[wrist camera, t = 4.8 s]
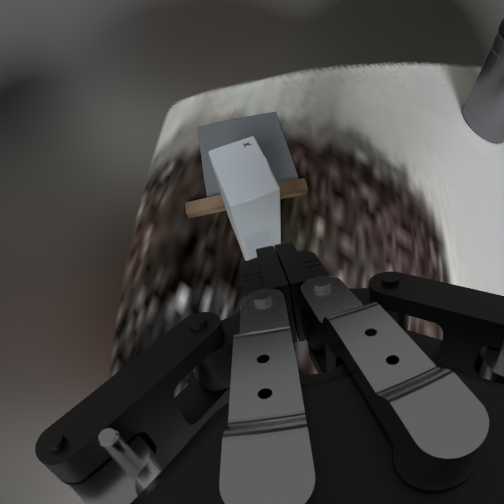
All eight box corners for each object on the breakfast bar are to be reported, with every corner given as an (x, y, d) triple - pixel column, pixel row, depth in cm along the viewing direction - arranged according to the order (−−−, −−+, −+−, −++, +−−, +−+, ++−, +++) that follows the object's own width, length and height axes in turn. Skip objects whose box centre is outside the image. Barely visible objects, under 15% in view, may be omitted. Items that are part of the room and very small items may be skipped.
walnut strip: (303, 183, 38) (304, 177, 36) (307, 194, 37) (307, 188, 36) (187, 207, 38) (185, 202, 36) (188, 218, 37) (186, 213, 36)
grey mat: (275, 113, 42) (275, 111, 42) (298, 180, 38) (298, 179, 37) (198, 129, 42) (197, 127, 42) (207, 199, 38) (207, 197, 37)
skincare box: (227, 216, 37) (206, 149, 26) (262, 204, 37) (254, 133, 26) (244, 263, 34) (228, 207, 23) (282, 249, 35) (282, 188, 24)
